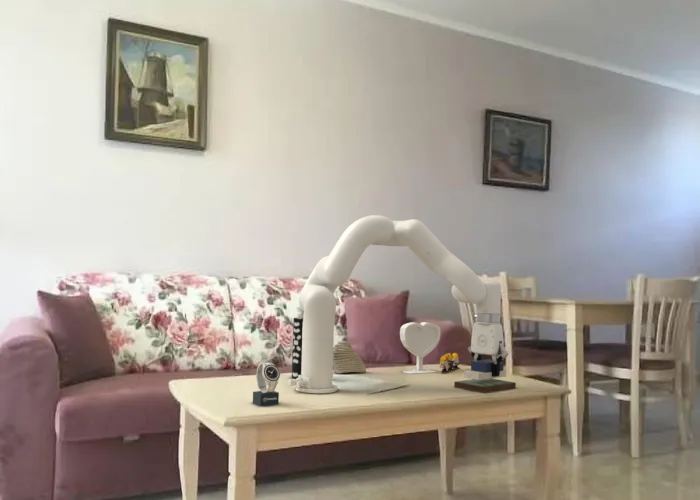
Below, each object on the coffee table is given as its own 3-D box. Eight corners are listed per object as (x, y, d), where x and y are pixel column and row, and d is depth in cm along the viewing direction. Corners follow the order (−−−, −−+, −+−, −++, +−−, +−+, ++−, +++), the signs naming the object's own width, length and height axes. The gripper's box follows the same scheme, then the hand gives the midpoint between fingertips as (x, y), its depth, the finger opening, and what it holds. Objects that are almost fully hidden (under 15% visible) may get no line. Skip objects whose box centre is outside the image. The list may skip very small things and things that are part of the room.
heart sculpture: (404, 373, 242) (406, 323, 243) (397, 371, 246) (398, 322, 247) (441, 371, 249) (442, 322, 250) (433, 369, 253) (434, 321, 254)
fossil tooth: (367, 376, 241) (328, 374, 235) (360, 373, 247) (322, 370, 241) (371, 344, 241) (332, 341, 235) (364, 342, 247) (326, 338, 241)
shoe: (491, 374, 224) (491, 358, 224) (506, 376, 219) (506, 361, 220) (463, 377, 215) (463, 361, 215) (478, 380, 210) (478, 364, 211)
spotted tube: (315, 380, 222) (317, 319, 223) (290, 379, 222) (292, 319, 223) (317, 376, 231) (319, 317, 231) (293, 375, 231) (294, 317, 231)
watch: (263, 407, 177) (265, 365, 178) (249, 402, 184) (250, 361, 184) (282, 405, 181) (283, 364, 181) (267, 400, 187) (269, 360, 188)
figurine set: (436, 372, 246) (436, 354, 246) (452, 367, 260) (452, 350, 261) (445, 373, 245) (445, 355, 245) (461, 368, 259) (461, 351, 259)
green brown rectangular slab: (484, 393, 207) (484, 386, 207) (454, 387, 217) (454, 380, 217) (515, 388, 218) (515, 381, 218) (486, 382, 227) (486, 376, 227)
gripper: (460, 317, 223) (458, 372, 222) (502, 321, 209) (501, 379, 209) (474, 316, 227) (473, 370, 227) (517, 320, 214) (516, 377, 214)
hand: (487, 374), depth 218 cm, fingers closed on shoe, 6 cm apart
